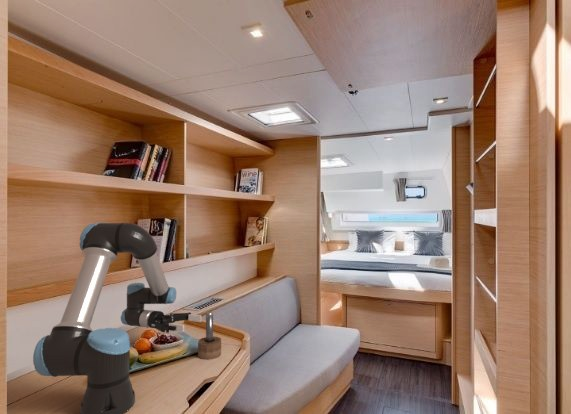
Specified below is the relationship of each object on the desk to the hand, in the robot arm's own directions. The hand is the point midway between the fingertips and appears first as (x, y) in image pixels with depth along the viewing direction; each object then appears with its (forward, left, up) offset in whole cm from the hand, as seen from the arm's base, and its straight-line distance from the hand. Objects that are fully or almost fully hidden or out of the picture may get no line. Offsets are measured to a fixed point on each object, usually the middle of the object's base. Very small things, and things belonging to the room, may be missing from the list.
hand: (192, 323), depth 142 cm
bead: (0, -8, -13) cm, 15 cm away
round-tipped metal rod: (0, -8, -13) cm, 15 cm away
